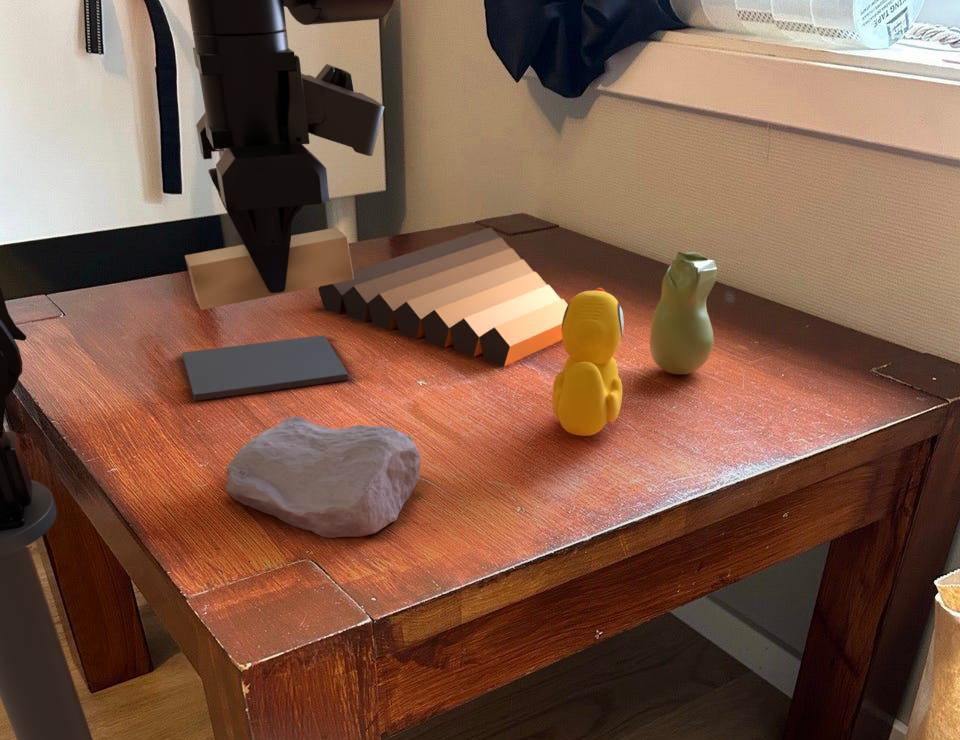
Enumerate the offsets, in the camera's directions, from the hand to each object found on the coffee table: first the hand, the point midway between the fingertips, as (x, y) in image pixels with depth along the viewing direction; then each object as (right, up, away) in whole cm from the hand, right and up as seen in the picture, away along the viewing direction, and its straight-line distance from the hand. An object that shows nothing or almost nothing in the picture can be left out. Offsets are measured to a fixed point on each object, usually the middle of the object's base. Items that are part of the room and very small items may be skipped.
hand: (273, 285), depth 69 cm
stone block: (+4, -16, -3) cm, 17 cm away
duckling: (+23, -9, +7) cm, 26 cm away
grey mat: (-4, -2, +16) cm, 17 cm away
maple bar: (0, 0, 0) cm, 0 cm away
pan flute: (+16, +8, +31) cm, 36 cm away
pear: (+32, -2, +16) cm, 36 cm away
